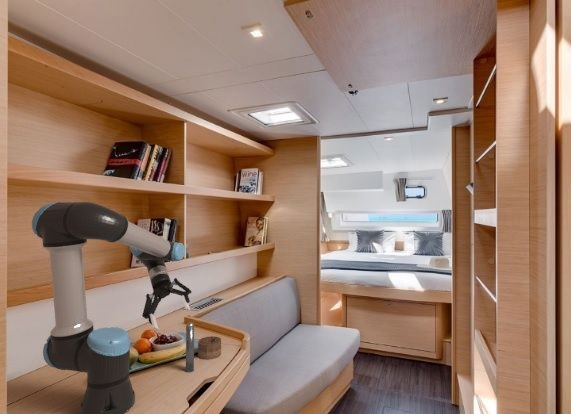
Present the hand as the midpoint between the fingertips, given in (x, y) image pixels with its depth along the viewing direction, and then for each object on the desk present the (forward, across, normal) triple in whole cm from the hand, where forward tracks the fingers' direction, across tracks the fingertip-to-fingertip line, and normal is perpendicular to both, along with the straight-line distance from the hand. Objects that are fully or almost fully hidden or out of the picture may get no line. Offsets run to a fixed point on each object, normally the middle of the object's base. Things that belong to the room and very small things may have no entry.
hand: (172, 319), depth 125 cm
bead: (+8, -2, -26) cm, 27 cm away
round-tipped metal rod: (+15, +4, -14) cm, 21 cm away
